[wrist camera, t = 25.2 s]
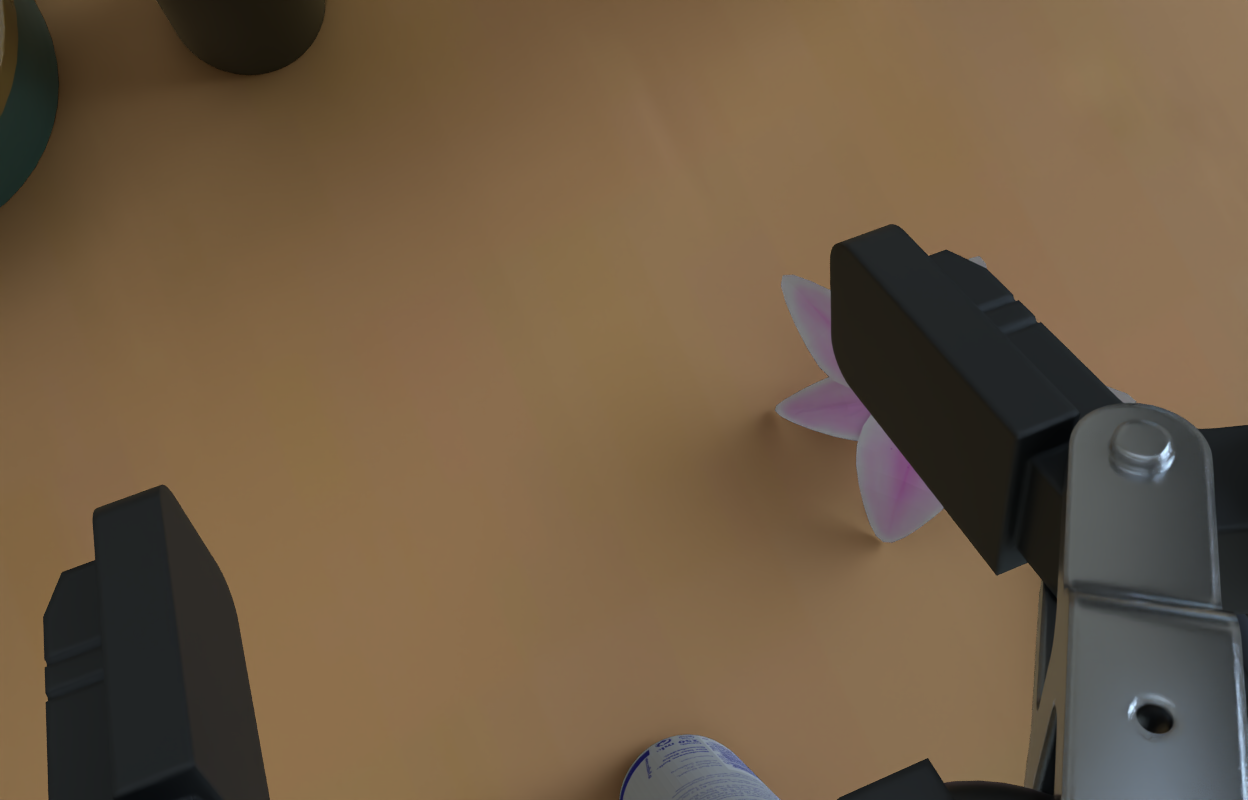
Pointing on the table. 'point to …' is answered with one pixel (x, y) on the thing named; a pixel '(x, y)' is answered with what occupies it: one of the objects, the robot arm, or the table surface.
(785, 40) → the table surface
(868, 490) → the lily
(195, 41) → the tea tin
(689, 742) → the beverage can
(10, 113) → the biscuit tin
